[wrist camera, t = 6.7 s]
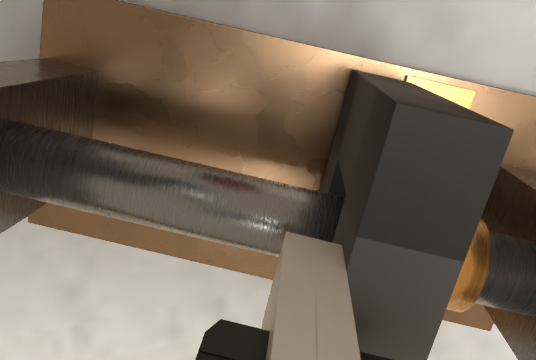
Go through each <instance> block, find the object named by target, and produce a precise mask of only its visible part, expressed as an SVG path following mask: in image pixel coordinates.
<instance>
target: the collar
mask: <svg viewBox="0 0 536 360" xmlns="http://www.w3.org/2000/svg"><path fill="white" fill-rule="evenodd" d="M513 132H514V129H511V128H509V127H507V126H505V125H503V124H501V123H498V122H496V121H494V120H492V119H490V118H487V117H485V116H483V115H481V114H479V113H477V112H474V111H472V110H470V109H468V108H466V107H463V106H461V105H459V104H457V103H455V102H452V101H450V100H448V99H446V98H444V97H442V96H439V95H437V94H435V93H433V92H431V91H428V90H426V89H424V88H422V87H420V86H418V85H415V84H413V83H411V82H406V81H402V80H398V79H393V78H389V77H385V76H380V75H376V74H371V73H367V72H363V71H358V70H354V69H353V70H352V73H351V77H350V81H349V85H348V88H347V92H346V96H345V100H344V103H343V107H342V111H341V115H340V118H339V122H338V126H337V130H336V133H335V137H334V141H333V145H332V148H331V152H330V156H329V160H328V164H327V167H326V171H325V175H324V179H323V182H322V186H321V190H320V192H323V193H327V194H331V195H336V196H340V197H344V198H345V200H344V204H343V207H342V211H341V214H340V218H339V221H338V225H337V228H336V232H335V235H334V239H333V242H332V243H336V244H340V245H342V248H343V254H344V260H345V266H346V271H347V277H348V284H349V290H350V296H351V302H352V308H353V315H354V321H355V327H356V333H357V339H358V346H359V351H360V352H364V353H368V354H372V355H376V356H381V357H385V358H389V359H393V360H427V358H428V355H429V353H430V350H431V348H432V345H433V342H434V340H435V337H436V334H437V332H438V329H439V327H440V324H441V321H442V319H443V316H444V313H445V311H446V308H447V306H448V303H449V300H450V298H451V295H452V292H453V290H454V287H455V285H456V282H457V279H458V277H459V274H460V271H461V269H462V266H463V264H464V261H465V258H466V256H467V253H468V250H469V248H470V245H471V243H472V240H473V237H474V235H475V232H476V229H477V227H478V224H479V222H480V219H481V216H482V214H483V211H484V208H485V206H486V203H487V200H488V198H489V195H490V193H491V190H492V187H493V185H494V182H495V179H496V177H497V174H498V172H499V169H500V166H501V164H502V161H503V158H504V156H505V153H506V151H507V148H508V145H509V143H510V140H511V137H512V135H513Z"/></svg>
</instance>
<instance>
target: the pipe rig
mask: <svg viewBox="0 0 536 360" xmlns="http://www.w3.org/2000/svg"><path fill="white" fill-rule="evenodd" d="M353 69H354V70H358V71H363V72H367V73H371V74H376V75H380V76H385V77H389V78H393V79H398V80H402V81H406V82H411V83H413V84H415V85H418V86H420V87H422V88H424V89H426V90H428V91H431V92H433V93H435V94H437V95H439V96H442V97H444V98H446V99H448V100H450V101H452V102H455V103H457V104H459V105H461V106H463V107H466V108H468V109H470V110H472V111H474V112H477V113H479V114H481V115H483V116H485V117H487V118H490V119H492V120H494V121H496V122H498V123H501V124H503V125H505V126H507V127H509V128H511V129H514V132H513V135H512V137H511V140H510V143H509V145H508V148H507V151H506V153H505V156H504V158H503V161H502V164H501V166H500V169H499V172H498V174H497V177H496V179H495V182H494V185H493V187H492V190H491V193H490V195H489V198H488V200H487V203H486V206H485V208H484V211H483V214H482V216H481V219H480V222H479V224H478V227H477V229H476V232H475V235H474V237H473V240H472V243H471V245H470V248H469V250H468V253H467V256H466V258H465V261H464V264H463V266H462V269H461V271H460V274H459V277H458V279H457V282H456V285H455V287H454V290H453V292H452V295H451V298H450V300H449V303H448V306H447V308H446V311H445V313H444V316H443V319H442V320H445V321H449V322H454V323H458V324H462V325H466V326H471V327H475V328H479V329H483V330H488V331H490V330H491V328H492V326H493V323H495V325H496V326H497V328H498V329H499V331H500V332H501V334H502V335H503V337H504V338H505V340H506V342H507V343H508V345H509V346H510V348H511V349H512V351H513V352H514V354H515V355H516V357H517V358H518V360H536V97H534V96H530V95H525V94H521V93H517V92H512V91H508V90H504V89H499V88H495V87H491V86H486V85H482V84H477V83H473V82H469V81H464V80H460V79H456V78H451V77H447V76H443V75H438V74H434V73H430V72H425V71H421V70H417V69H412V68H408V67H403V66H399V65H395V64H390V63H386V62H382V61H377V60H373V59H369V58H364V57H360V56H356V55H351V54H347V53H342V52H338V51H334V50H329V49H325V48H321V47H316V46H312V45H308V44H303V43H299V42H295V41H290V40H286V39H281V38H277V37H273V36H268V35H264V34H260V33H255V32H251V31H247V30H242V29H238V28H234V27H229V26H225V25H221V24H216V23H212V22H207V21H203V20H199V19H194V18H190V17H186V16H181V15H177V14H173V13H168V12H164V11H160V10H155V9H151V8H146V7H142V6H138V5H133V4H129V3H125V2H120V1H116V0H44V2H43V16H42V30H41V44H40V58H39V59H32V60H20V61H9V62H0V234H1V233H2V232H4V231H5V230H7V229H8V228H10V227H11V226H13V225H15V224H16V223H18V222H19V221H21V220H22V219H24V218H25V217H27V216H28V222H30V223H34V224H38V225H43V226H47V227H51V228H55V229H59V230H64V231H68V232H72V233H76V234H81V235H85V236H89V237H93V238H98V239H102V240H106V241H110V242H115V243H119V244H123V245H127V246H132V247H136V248H140V249H144V250H148V251H153V252H157V253H161V254H165V255H170V256H174V257H178V258H182V259H187V260H191V261H195V262H199V263H204V264H208V265H212V266H216V267H221V268H225V269H229V270H233V271H238V272H242V273H246V274H250V275H254V276H259V277H263V278H267V279H271V280H274V276H275V272H276V268H277V264H278V260H279V257H280V253H281V249H282V245H283V241H284V237H285V233H286V232H290V233H294V234H298V235H303V236H307V237H311V238H315V239H319V240H323V241H327V242H331V243H332V242H333V239H334V235H335V232H336V228H337V225H338V221H339V218H340V214H341V211H342V207H343V204H344V200H345V198H344V197H340V196H336V195H331V194H327V193H323V192H320V190H321V186H322V182H323V179H324V175H325V171H326V167H327V164H328V160H329V156H330V152H331V148H332V145H333V141H334V137H335V133H336V130H337V126H338V122H339V118H340V115H341V111H342V107H343V103H344V100H345V96H346V92H347V88H348V85H349V81H350V77H351V73H352V70H353Z"/></svg>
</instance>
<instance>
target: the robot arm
mask: <svg viewBox="0 0 536 360" xmlns="http://www.w3.org/2000/svg"><path fill="white" fill-rule="evenodd" d="M196 360H393V359H389V358H385V357H381V356H376V355H372V354H368V353H364V352H360V351H359V346H358V339H357V333H356V327H355V321H354V315H353V308H352V302H351V296H350V290H349V284H348V277H347V271H346V266H345V260H344V254H343V248H342V245H340V244H336V243H331V242H327V241H323V240H319V239H315V238H311V237H307V236H303V235H298V234H294V233H290V232H286V233H285V237H284V241H283V245H282V249H281V253H280V257H279V260H278V264H277V268H276V272H275V276H274V280H273V284H272V288H271V292H270V295H269V299H268V303H267V307H266V311H265V315H264V319H263V324H262V329H259V328H255V327H251V326H247V325H242V324H238V323H234V322H230V321H226V320H222V319H220V320H219V321H218V322H217V323H216V324H214V325H213V326H212V327H211V328H210V329H208V330H207V331H206V332H205V334H204V337H203V340H202V343H201V345H200V348H199V352H198V354H197V357H196Z"/></svg>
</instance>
